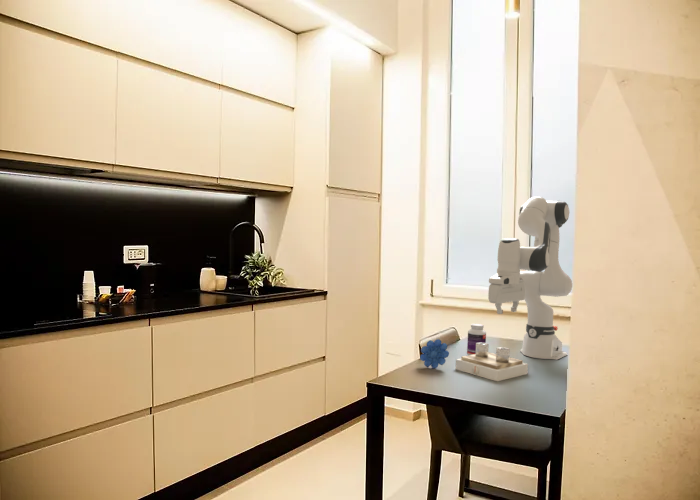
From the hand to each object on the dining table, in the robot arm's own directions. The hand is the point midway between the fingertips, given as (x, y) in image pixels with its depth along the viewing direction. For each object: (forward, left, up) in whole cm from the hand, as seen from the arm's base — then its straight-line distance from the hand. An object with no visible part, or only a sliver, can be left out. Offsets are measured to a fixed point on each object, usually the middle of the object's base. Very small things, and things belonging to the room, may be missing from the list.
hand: (506, 312), depth 206 cm
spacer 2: (+5, +2, -19) cm, 19 cm away
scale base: (+5, -3, -24) cm, 24 cm away
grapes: (+21, -19, -24) cm, 37 cm away
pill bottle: (-11, -23, -24) cm, 35 cm away
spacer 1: (+5, -8, -19) cm, 21 cm away
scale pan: (+5, -3, -20) cm, 21 cm away
